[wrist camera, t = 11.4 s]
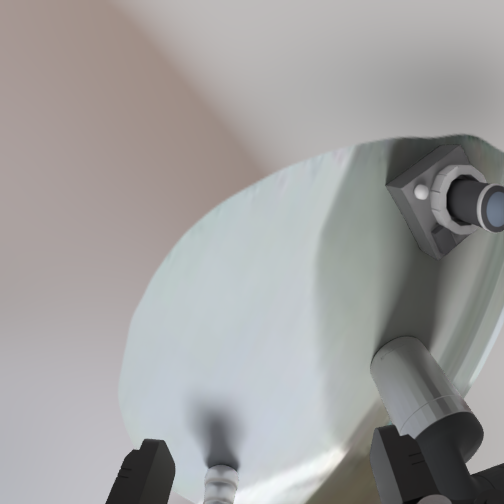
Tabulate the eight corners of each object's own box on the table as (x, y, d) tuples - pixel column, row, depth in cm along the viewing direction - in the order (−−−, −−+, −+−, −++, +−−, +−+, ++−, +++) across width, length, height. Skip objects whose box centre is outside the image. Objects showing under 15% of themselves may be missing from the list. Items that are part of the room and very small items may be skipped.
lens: (472, 177, 31) (514, 185, 23) (472, 217, 32) (513, 232, 24) (441, 177, 31) (482, 184, 23) (441, 219, 32) (481, 235, 25)
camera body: (471, 208, 37) (501, 218, 30) (420, 249, 39) (445, 265, 32) (440, 145, 35) (469, 144, 28) (385, 185, 37) (408, 190, 30)
